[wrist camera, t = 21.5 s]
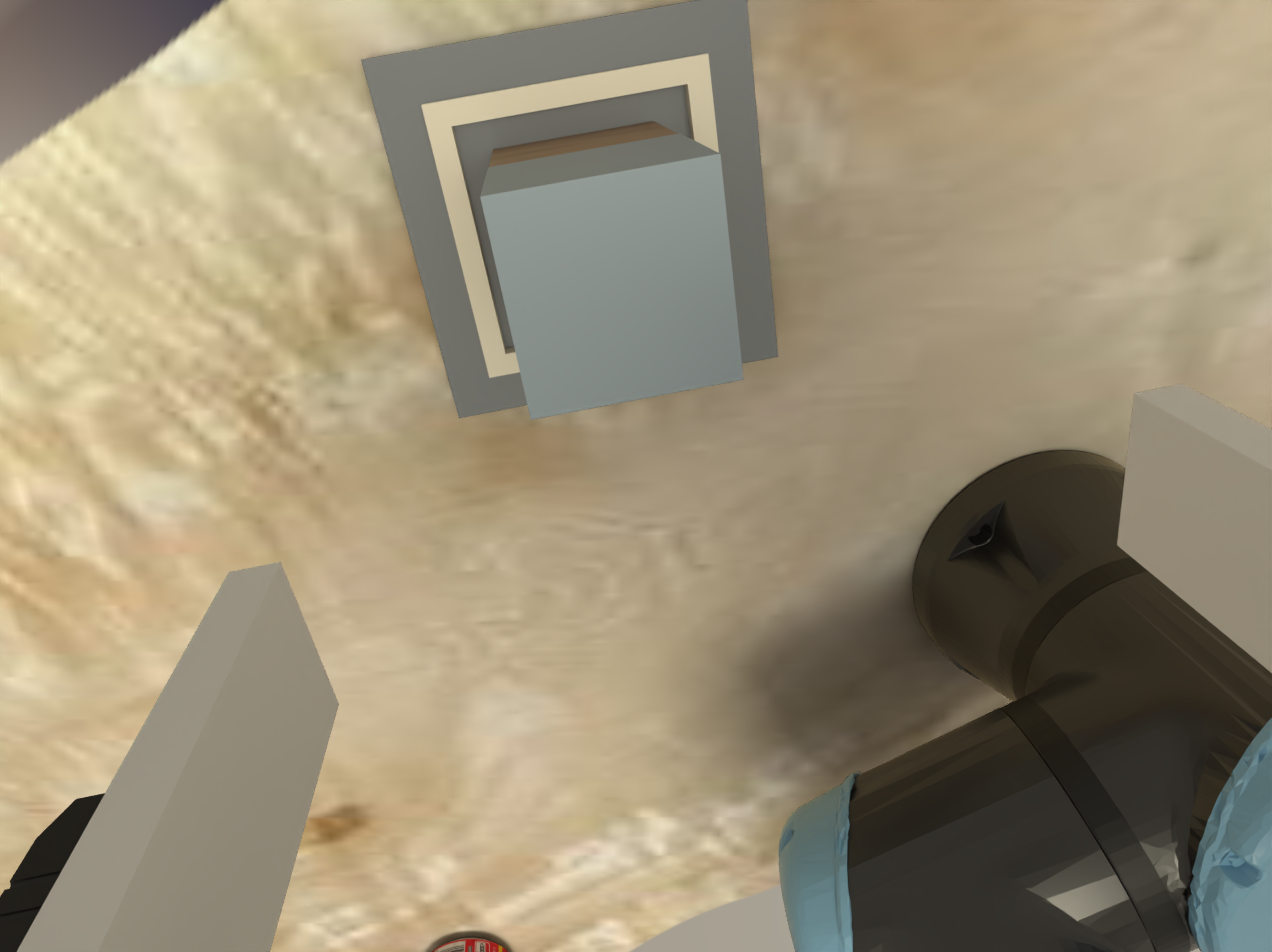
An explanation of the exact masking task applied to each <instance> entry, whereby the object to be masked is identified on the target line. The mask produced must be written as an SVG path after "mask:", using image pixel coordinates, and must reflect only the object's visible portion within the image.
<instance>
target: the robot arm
mask: <svg viewBox="0 0 1272 952" xmlns="http://www.w3.org/2000/svg"><path fill="white" fill-rule="evenodd" d="M913 598H914V604H915V608H916V611H917V614H918V617H919V619H920V621H921V623H922V625H923V626H924V628H925V629H926V631H927V632H928V634H929V635H930V637H931V638H932V639H933V641H934V642H935V644H936V645H937V646H938V648H939V649H940V650H941V652H942V653H943V654H944V655H945V656H946V657H947V658H948V659H949V660H950V661H951V662H952V663H953V664H954V665H956V666H957V667H958V668H960V669H961V670H963V671H965V672H966V673H968V674H970V675H972V676H974V677H976V678H977V679H980V680H982V681H983V682H985V683H986V684H988V685H989V686H990V687H992V688H993V689H995V690H996V691H998V692H999V693H1001V694H1003V695H1004V696H1006V697H1007V698H1009V699H1010V700H1012V701H1013V702H1012V703H1010V704H1008V705H1006V706H1004V707H1001V708H998V709H996V710H994V711H992V712H990V713H988V714H986V715H984V716H982V717H980V718H977V719H975V720H973V721H971V722H969V723H967V724H965V725H963V726H961V727H959V728H957V729H955V730H952V731H950V732H948V733H946V734H944V735H942V736H940V737H938V738H936V739H934V740H932V741H930V742H928V743H925V744H923V745H921V746H919V747H917V748H915V749H913V750H911V751H909V752H907V753H905V754H903V755H900V756H898V757H896V758H894V759H892V760H890V761H888V762H886V763H884V764H882V765H880V766H878V767H875V768H873V769H871V770H869V771H867V772H865V773H863V774H861V773H860V772H856V773H853V774H851V775H849V776H848V777H847V778H846V780H845V781H844V783H842V784H841V785H839V786H837V787H835V788H833V789H832V790H830V791H828V792H826V793H824V794H823V795H821V796H819V797H817V798H815V799H814V800H812V801H810V802H808V803H807V804H805V805H803V806H801V807H799V808H798V809H797V810H795V811H794V812H793V813H792V814H791V816H790V817H789V818H788V820H787V821H786V823H785V825H784V827H783V830H782V833H781V837H780V842H779V873H780V882H781V890H782V896H783V901H784V906H785V912H786V916H787V921H788V925H789V929H790V933H791V937H792V941H793V945H794V948H795V952H1190V951H1193V950H1195V949H1197V948H1199V949H1200V951H1201V952H1272V429H1271V428H1269V427H1267V426H1265V425H1263V424H1261V423H1259V422H1257V421H1255V420H1253V419H1251V418H1249V417H1247V416H1245V415H1243V414H1241V413H1239V412H1237V411H1235V410H1233V409H1231V408H1229V407H1227V406H1225V405H1223V404H1221V403H1219V402H1217V401H1215V400H1213V399H1211V398H1209V397H1207V396H1205V395H1203V394H1201V393H1199V392H1197V391H1195V390H1193V389H1191V388H1189V387H1187V386H1185V385H1183V384H1179V385H1174V386H1169V387H1164V388H1159V389H1154V390H1149V391H1144V392H1139V393H1134V399H1133V408H1132V417H1131V426H1130V434H1129V443H1128V452H1127V461H1126V469H1124V468H1123V467H1122V466H1120V465H1118V464H1117V463H1115V462H1113V461H1111V460H1109V459H1107V458H1105V457H1102V456H1099V455H1096V454H1092V453H1087V452H1080V451H1051V452H1044V453H1039V454H1034V455H1030V456H1027V457H1023V458H1020V459H1017V460H1015V461H1012V462H1010V463H1007V464H1005V465H1003V466H1001V467H999V468H997V469H995V470H993V471H991V472H989V473H988V474H986V475H984V476H983V477H981V478H980V479H978V480H977V481H975V482H974V483H973V484H971V485H970V486H969V487H967V488H966V489H965V490H964V491H963V492H962V493H960V494H959V495H958V496H957V497H956V498H955V499H954V500H953V501H952V502H951V503H950V504H949V505H948V506H947V507H946V508H945V510H944V511H943V512H942V513H941V515H940V516H939V517H938V519H937V520H936V521H935V523H934V524H933V526H932V527H931V529H930V531H929V532H928V534H927V536H926V538H925V540H924V542H923V544H922V546H921V549H920V551H919V554H918V557H917V561H916V564H915V569H914V576H913ZM338 705H339V703H338V701H337V698H336V696H335V693H334V691H333V688H332V686H331V683H330V681H329V679H328V676H327V674H326V671H325V669H324V666H323V664H322V662H321V659H320V657H319V654H318V652H317V649H316V647H315V644H314V642H313V640H312V637H311V635H310V632H309V630H308V627H307V625H306V623H305V620H304V618H303V615H302V613H301V610H300V608H299V605H298V603H297V601H296V598H295V596H294V593H293V591H292V588H291V586H290V584H289V581H288V579H287V576H286V574H285V571H284V569H283V566H282V564H281V562H278V563H273V564H268V565H263V566H258V567H253V568H248V569H243V570H237V571H232V572H229V573H228V575H227V576H226V578H225V580H224V582H223V584H222V585H221V587H220V589H219V591H218V593H217V594H216V596H215V598H214V600H213V601H212V603H211V605H210V607H209V609H208V610H207V612H206V614H205V616H204V618H203V619H202V621H201V623H200V625H199V627H198V628H197V630H196V632H195V634H194V635H193V637H192V639H191V641H190V643H189V644H188V646H187V648H186V650H185V652H184V653H183V655H182V657H181V659H180V660H179V662H178V664H177V666H176V668H175V669H174V671H173V673H172V675H171V677H170V678H169V680H168V682H167V684H166V686H165V687H164V689H163V691H162V693H161V694H160V696H159V698H158V700H157V702H156V703H155V705H154V707H153V709H152V711H151V712H150V714H149V716H148V718H147V719H146V721H145V723H144V725H143V727H142V728H141V730H140V732H139V734H138V736H137V737H136V739H135V741H134V743H133V745H132V746H131V748H130V750H129V752H128V753H127V755H126V757H125V759H124V761H123V762H122V764H121V766H120V768H119V770H118V771H117V773H116V775H115V777H114V779H113V780H112V782H111V784H110V786H109V787H108V789H107V791H106V793H104V794H99V795H94V796H89V797H84V798H79V799H76V800H75V801H74V802H73V803H72V804H71V805H70V806H69V807H68V808H67V809H66V810H65V811H64V812H63V813H62V814H61V815H60V816H59V817H58V818H57V819H56V820H55V821H54V822H53V823H52V824H51V825H49V826H48V827H47V828H46V829H45V830H44V831H43V832H42V833H41V834H40V835H39V836H38V837H37V838H36V840H35V841H34V843H33V845H32V846H31V848H30V849H29V851H28V853H27V854H26V856H25V858H24V859H23V861H22V862H21V864H20V866H19V867H18V869H17V871H16V872H15V874H14V875H13V877H12V879H11V880H10V883H11V887H10V889H7V890H4V892H3V893H2V895H1V897H0V952H270V950H271V946H272V943H273V939H274V935H275V932H276V928H277V925H278V921H279V917H280V914H281V910H282V907H283V903H284V899H285V896H286V892H287V889H288V885H289V881H290V878H291V874H292V871H293V867H294V863H295V860H296V856H297V853H298V849H299V845H300V842H301V838H302V835H303V831H304V827H305V824H306V820H307V817H308V813H309V809H310V806H311V802H312V799H313V795H314V791H315V788H316V784H317V781H318V777H319V773H320V770H321V766H322V763H323V759H324V755H325V752H326V748H327V745H328V741H329V737H330V734H331V730H332V727H333V723H334V719H335V716H336V712H337V709H338Z"/></svg>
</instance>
